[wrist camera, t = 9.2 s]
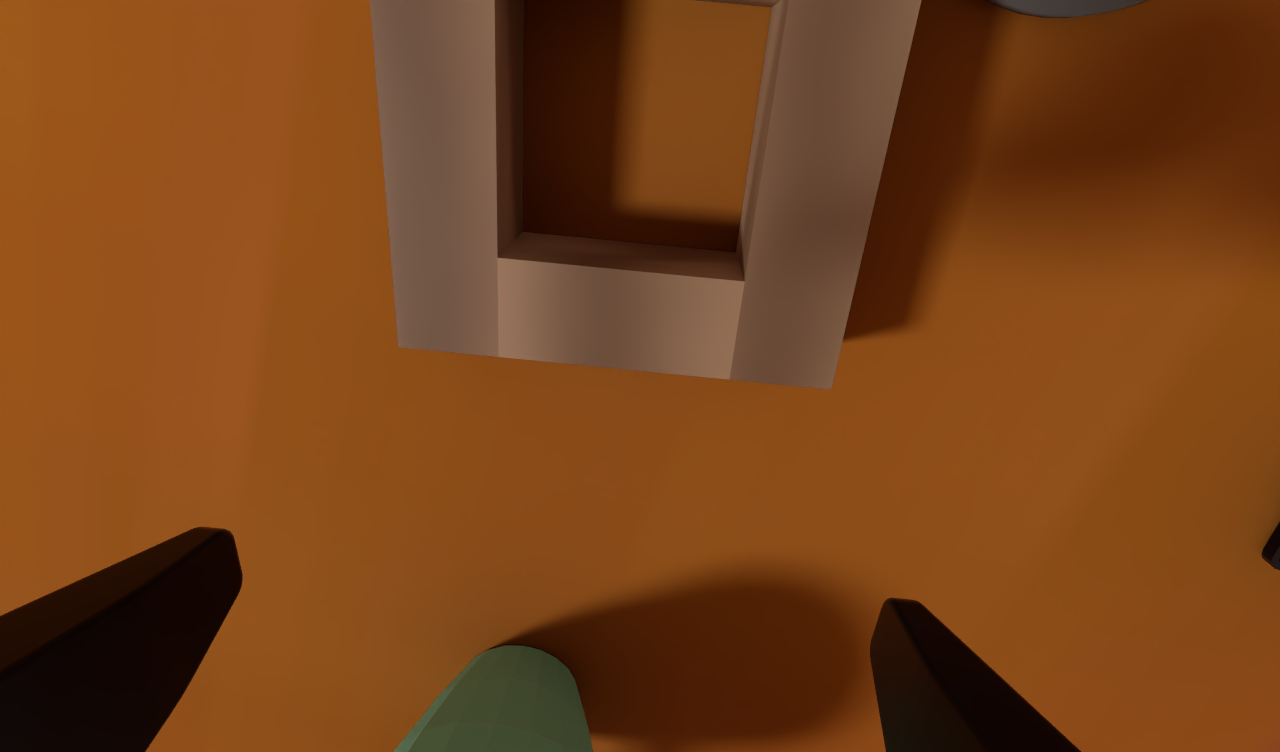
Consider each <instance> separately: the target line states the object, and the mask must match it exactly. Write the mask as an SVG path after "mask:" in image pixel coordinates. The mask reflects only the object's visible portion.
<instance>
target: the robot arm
mask: <svg viewBox="0 0 1280 752" xmlns="http://www.w3.org/2000/svg"><path fill="white" fill-rule="evenodd" d="M1262 558H1263V559H1264V560H1265V561H1267V562H1268V563H1269V564H1270V565H1271V566H1272V567H1274V568H1275V569H1278V570H1280V523H1279V525H1278V526H1277V528H1276V530H1275V531H1274V533H1273V535H1272V536H1271V538H1270V539H1269V541H1268V543H1267V544H1266V546H1265V547H1264V549H1263V551H1262ZM241 586H242V570H241V566H240V561H239V557H238V553H237V548H236V544H235V540H234V537H233V535H232V533H231V532H230V531H228V530H226V529H220V528H210V527H197V528H194V529H191V530H189V531H187V532H185V533H182V534H180V535H178V536H176V537H174V538H171V539H169V540H167V541H165V542H162V543H160V544H158V545H156V546H154V547H151V548H149V549H147V550H145V551H143V552H140V553H138V554H136V555H134V556H132V557H129V558H127V559H125V560H123V561H121V562H118V563H116V564H114V565H112V566H110V567H107V568H105V569H103V570H101V571H98V572H96V573H94V574H92V575H90V576H87V577H85V578H83V579H81V580H79V581H76V582H74V583H72V584H70V585H68V586H65V587H63V588H61V589H59V590H57V591H54V592H52V593H50V594H48V595H46V596H43V597H41V598H39V599H37V600H34V601H32V602H30V603H28V604H26V605H23V606H21V607H19V608H17V609H15V610H12V611H10V612H8V613H6V614H4V615H1V616H0V752H145V751H146V750H147V748H148V747H149V745H150V744H151V742H152V741H153V739H154V738H155V736H156V735H157V734H158V732H159V731H160V729H161V728H162V726H163V725H164V723H165V722H166V720H167V719H168V717H169V716H170V714H171V713H172V711H173V709H174V708H175V706H176V705H177V703H178V702H179V700H180V699H181V697H182V695H183V694H184V692H185V690H186V689H187V687H188V685H189V683H190V682H191V680H192V678H193V676H194V675H195V673H196V671H197V669H198V667H199V665H200V664H201V662H202V660H203V658H204V656H205V654H206V653H207V651H208V649H209V647H210V645H211V643H212V642H213V640H214V638H215V636H216V634H217V632H218V631H219V629H220V627H221V625H222V623H223V621H224V620H225V618H226V616H227V614H228V612H229V610H230V609H231V607H232V605H233V603H234V601H235V600H236V598H237V596H238V594H239V592H240V589H241ZM870 658H871V665H872V671H873V677H874V683H875V689H876V695H877V701H878V707H879V713H880V719H881V725H882V731H883V736H884V742H885V748H886V752H1081V751H1080V750H1079V749H1078V748H1077V747H1076V746H1075V745H1074V744H1072V743H1071V742H1070V741H1069V740H1068V739H1067V738H1066V737H1065V736H1064V735H1063V734H1062V733H1061V732H1059V731H1058V730H1057V729H1056V728H1055V727H1054V726H1053V725H1052V724H1051V723H1050V722H1049V721H1048V720H1047V719H1045V718H1044V717H1043V716H1042V715H1041V714H1040V713H1039V712H1038V711H1037V710H1036V709H1035V708H1034V707H1033V706H1031V705H1030V704H1029V703H1028V702H1027V701H1026V700H1025V699H1024V698H1023V697H1022V696H1021V695H1020V694H1018V693H1017V692H1016V691H1015V690H1014V689H1013V688H1012V687H1011V686H1010V685H1009V684H1008V683H1007V682H1006V681H1004V680H1003V679H1002V678H1001V677H1000V676H999V675H998V674H997V673H996V672H995V671H994V670H993V669H992V668H990V667H989V666H988V665H987V664H986V663H985V662H984V661H983V660H982V659H981V658H980V657H979V656H977V655H976V654H975V653H974V652H973V651H972V650H971V649H970V648H969V647H968V646H967V645H966V644H965V643H963V642H962V641H961V640H960V639H959V638H958V637H957V636H956V635H955V634H954V633H953V632H952V631H951V630H949V629H948V628H947V627H946V626H945V625H944V624H943V623H942V622H941V621H940V620H939V619H938V618H936V617H935V616H934V615H933V614H932V613H931V612H930V611H929V610H928V609H927V608H926V607H925V606H924V605H922V604H921V603H920V602H918V601H915V600H909V599H900V598H889V599H887V600H886V601H885V602H884V603H883V606H882V608H881V612H880V615H879V618H878V621H877V624H876V627H875V630H874V633H873V637H872V640H871V645H870Z"/></svg>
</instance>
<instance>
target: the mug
mask: <svg viewBox="0 0 1280 752" xmlns="http://www.w3.org/2000/svg"><path fill="white" fill-rule="evenodd" d="M394 752H593V750H592V744H591V739H590V733H589V728H588V725H587V721H586V718H585V714H584V710H583V707H582V703H581V699H580V696H579V692H578V688H577V685H576V681H575V679H574V677H573V676H572V674H571V672H570V670H569V669H568V668H567V667H566V666H565V665H564V664H563V663H562V662H561V661H559V660H558V659H557V658H556V657H554V656H552V655H550V654H548V653H546V652H544V651H542V650H539V649H535V648H531V647H527V646H522V645H504V646H501V647H497V648H493V649H489V650H486V651H484V652H483V653H481V654H480V655H478V656H476V657H475V658H474V659H473V660H472V661H471V662H470V663H469V664H468V666H467V667H466V668H465V669H464V670H463V671H462V672H461V673H460V674H459V675H458V676H457V677H456V678H455V679H454V680H453V681H452V682H451V683H450V684H449V685H448V686H447V687H446V689H445V690H444V691H443V692H442V693H441V694H440V695H439V696H438V697H437V699H436V700H435V701H434V702H433V704H432V705H431V706H430V707H429V709H428V710H427V711H426V712H425V714H424V715H423V716H422V717H421V719H420V720H419V721H418V722H417V723H416V725H415V726H414V727H413V728H412V730H411V731H410V732H409V733H408V735H407V736H406V737H405V738H404V740H403V741H402V742H401V743H400V745H399V746H398V747H397V748H396V750H395V751H394Z"/></svg>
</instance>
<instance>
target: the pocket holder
mask: <svg viewBox="0 0 1280 752" xmlns="http://www.w3.org/2000/svg"><path fill="white" fill-rule="evenodd" d="M698 1H710V2H721V3H732V4H743V5H754V6H766V7H772V10H771V17H770V24H769V30H768V37H767V44H766V51H765V57H764V64H763V71H762V78H761V85H760V91H759V98H758V105H757V112H756V118H755V125H754V132H753V139H752V146H751V152H750V159H749V166H748V173H747V180H746V186H745V193H744V200H743V207H742V213H741V220H740V227H739V234H738V241H737V247H736V252H729V251H719V250H708V249H698V248H687V247H677V246H666V245H656V244H645V243H635V242H624V241H614V240H603V239H593V238H582V237H572V236H561V235H551V234H540V233H530V232H523V111H524V0H370V9H371V21H372V33H373V45H374V57H375V69H376V81H377V94H378V106H379V118H380V130H381V142H382V154H383V166H384V178H385V191H386V203H387V215H388V227H389V239H390V251H391V263H392V275H393V288H394V300H395V312H396V324H397V336H398V347H404V348H414V349H424V350H434V351H444V352H455V353H465V354H475V355H485V356H495V357H505V358H515V359H526V360H536V361H546V362H556V363H566V364H576V365H586V366H597V367H607V368H617V369H627V370H637V371H647V372H657V373H668V374H678V375H688V376H698V377H708V378H718V379H729V380H739V381H749V382H759V383H769V384H779V385H789V386H800V387H810V388H820V389H830V390H831V388H832V384H833V380H834V376H835V371H836V367H837V363H838V358H839V354H840V350H841V345H842V341H843V337H844V332H845V328H846V324H847V320H848V315H849V311H850V307H851V302H852V298H853V294H854V289H855V285H856V281H857V276H858V272H859V268H860V264H861V259H862V255H863V251H864V246H865V242H866V238H867V233H868V229H869V225H870V220H871V216H872V212H873V208H874V203H875V199H876V195H877V190H878V186H879V182H880V177H881V173H882V169H883V164H884V160H885V156H886V152H887V147H888V143H889V139H890V134H891V130H892V126H893V121H894V117H895V113H896V109H897V104H898V100H899V96H900V91H901V87H902V83H903V78H904V74H905V70H906V65H907V61H908V57H909V53H910V48H911V44H912V40H913V35H914V31H915V27H916V22H917V18H918V14H919V9H920V5H921V1H922V0H698Z"/></svg>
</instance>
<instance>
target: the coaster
mask: <svg viewBox="0 0 1280 752" xmlns="http://www.w3.org/2000/svg"><path fill="white" fill-rule="evenodd" d="M987 1H989V2H991V3H993V4H994V5H996V6H998V7H1001V8H1004V9H1007V10H1010V11H1013V12H1016V13H1019V14H1024V15H1030V16H1036V17H1042V18H1069V17H1077V16H1085V15H1093V14H1100V13H1107V12H1110V11H1114V10H1118V9H1122V8H1126V7H1130V6H1133V5H1135V4H1138V3H1140V2H1143V1H1145V0H987Z"/></svg>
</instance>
